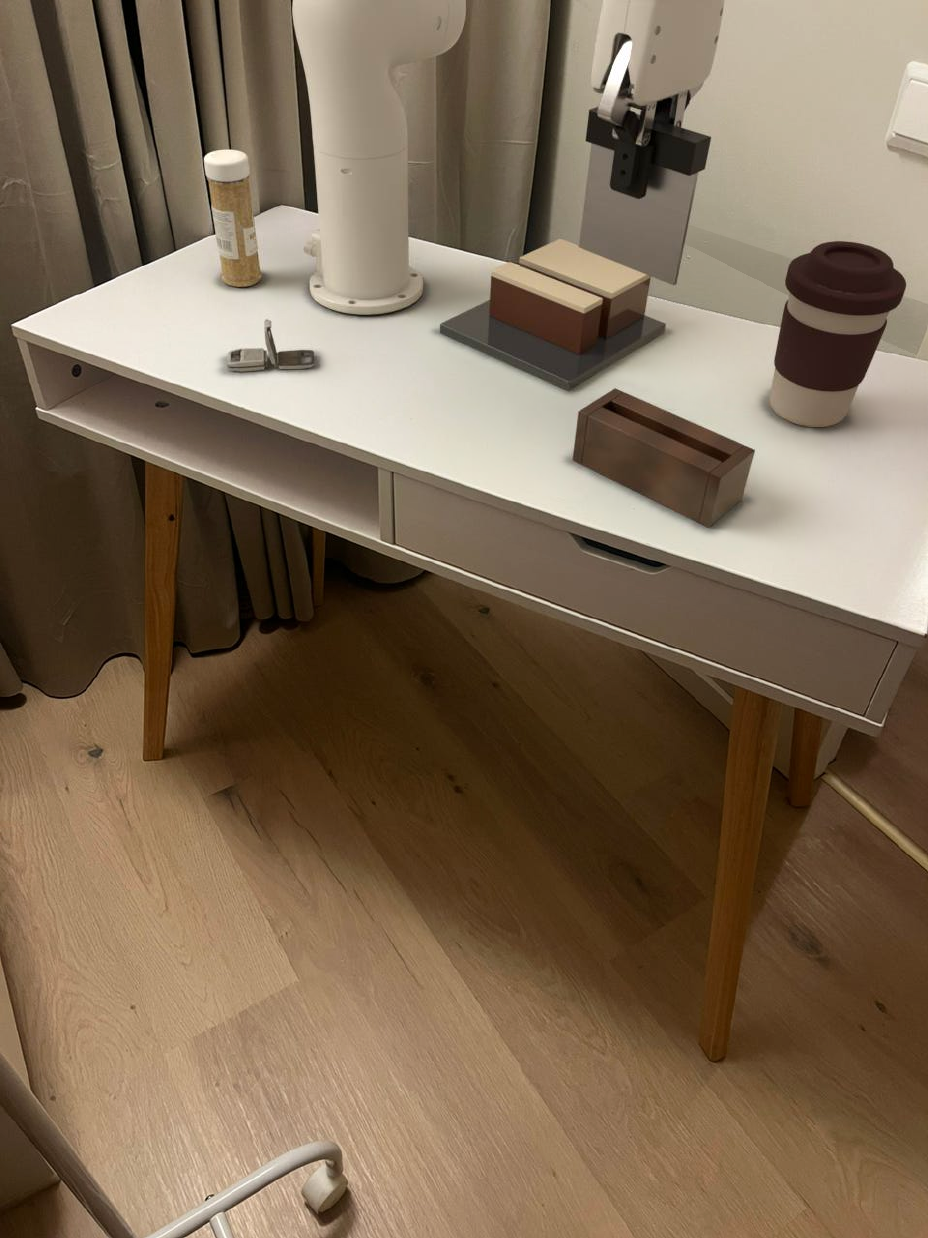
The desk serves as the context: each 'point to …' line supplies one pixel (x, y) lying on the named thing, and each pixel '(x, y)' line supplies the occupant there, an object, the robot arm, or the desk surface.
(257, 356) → the strap clip
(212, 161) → the sprinkles bottle
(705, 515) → the block
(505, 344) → the cake board
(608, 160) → the bench scraper
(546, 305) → the cake slice
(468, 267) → the desk surface
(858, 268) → the coffee cup
